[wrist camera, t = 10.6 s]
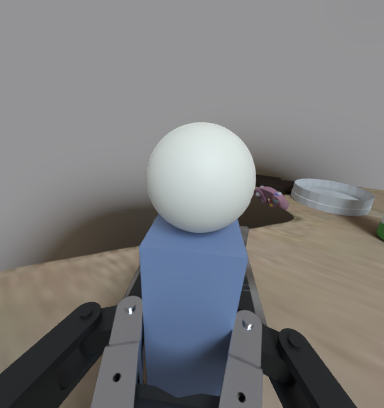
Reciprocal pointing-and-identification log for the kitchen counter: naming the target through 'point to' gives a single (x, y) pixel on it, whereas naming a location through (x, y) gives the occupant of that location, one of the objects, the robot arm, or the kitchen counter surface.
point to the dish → (332, 197)
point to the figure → (194, 256)
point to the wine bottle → (381, 229)
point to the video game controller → (271, 197)
